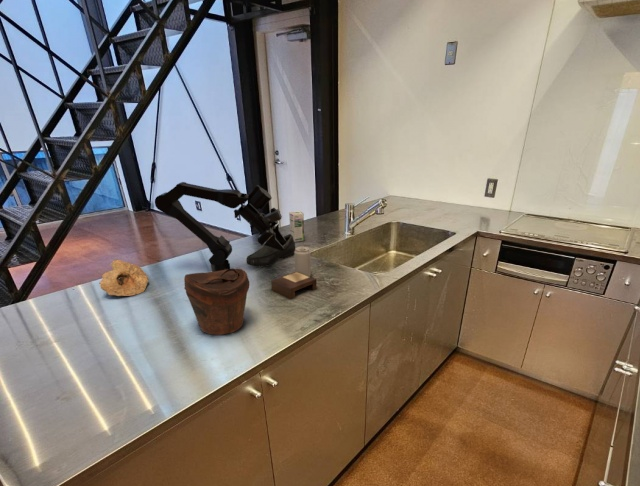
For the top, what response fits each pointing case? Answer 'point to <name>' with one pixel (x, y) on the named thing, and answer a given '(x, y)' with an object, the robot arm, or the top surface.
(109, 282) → the tan lumpy piece
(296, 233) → the syrup box
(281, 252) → the loafer
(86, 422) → the top surface
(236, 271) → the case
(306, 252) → the beverage can
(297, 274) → the wooden display riser
